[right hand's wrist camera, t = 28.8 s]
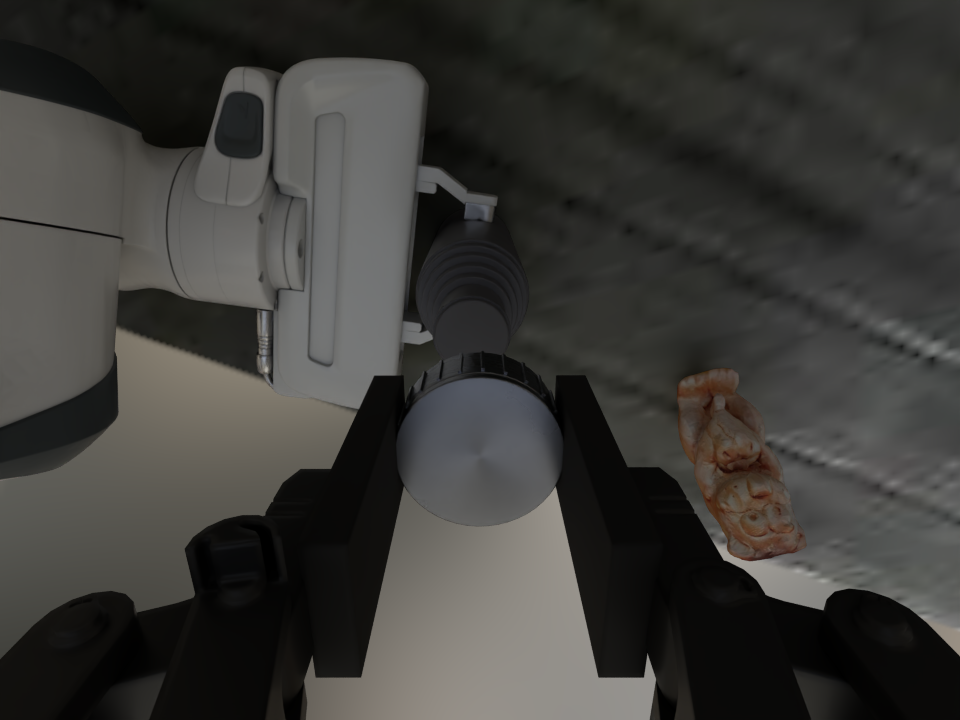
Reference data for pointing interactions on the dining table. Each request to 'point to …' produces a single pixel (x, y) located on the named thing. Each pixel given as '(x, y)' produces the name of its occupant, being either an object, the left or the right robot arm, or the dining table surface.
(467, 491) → the cap
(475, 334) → the bottle
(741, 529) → the figurine
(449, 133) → the dining table surface
